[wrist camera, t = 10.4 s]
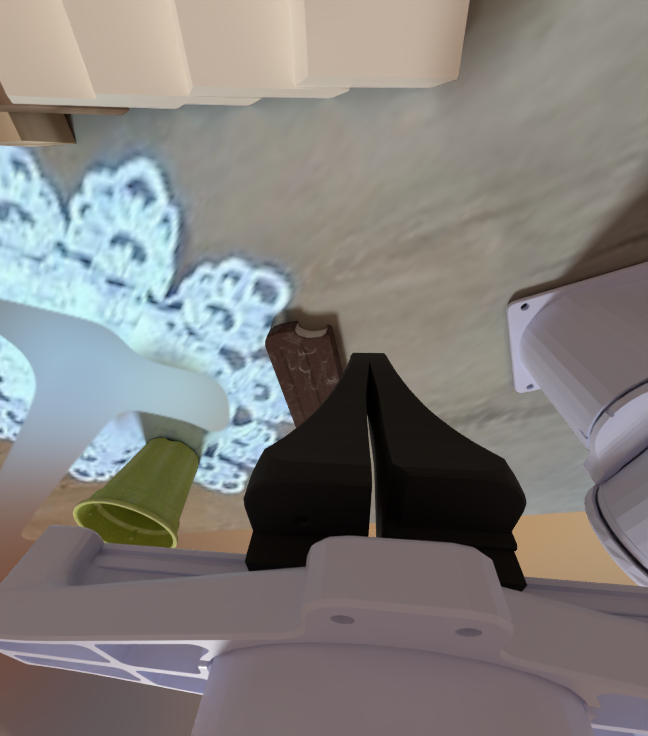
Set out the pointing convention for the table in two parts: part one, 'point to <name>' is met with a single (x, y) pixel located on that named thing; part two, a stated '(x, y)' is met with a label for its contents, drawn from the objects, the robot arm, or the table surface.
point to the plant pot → (143, 497)
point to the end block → (34, 129)
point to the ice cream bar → (304, 366)
